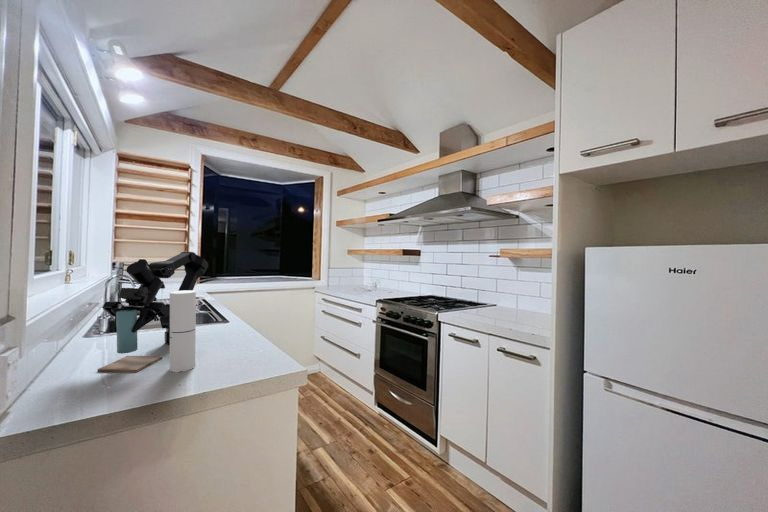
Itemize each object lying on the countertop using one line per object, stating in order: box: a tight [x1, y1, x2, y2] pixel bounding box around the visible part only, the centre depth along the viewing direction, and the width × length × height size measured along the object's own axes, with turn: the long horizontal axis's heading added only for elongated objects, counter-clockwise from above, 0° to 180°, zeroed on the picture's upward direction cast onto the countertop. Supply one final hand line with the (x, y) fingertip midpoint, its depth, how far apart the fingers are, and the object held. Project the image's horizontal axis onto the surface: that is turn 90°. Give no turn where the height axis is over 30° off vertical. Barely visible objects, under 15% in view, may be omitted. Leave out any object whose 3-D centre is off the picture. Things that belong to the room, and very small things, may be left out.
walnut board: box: [97, 355, 163, 373], centre depth 105 cm, size 12×12×1 cm
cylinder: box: [116, 309, 138, 355], centre depth 102 cm, size 5×5×13 cm
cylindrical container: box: [169, 290, 197, 373], centre depth 103 cm, size 7×7×25 cm
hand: (123, 331), depth 101 cm, fingers closed on cylinder, 5 cm apart
